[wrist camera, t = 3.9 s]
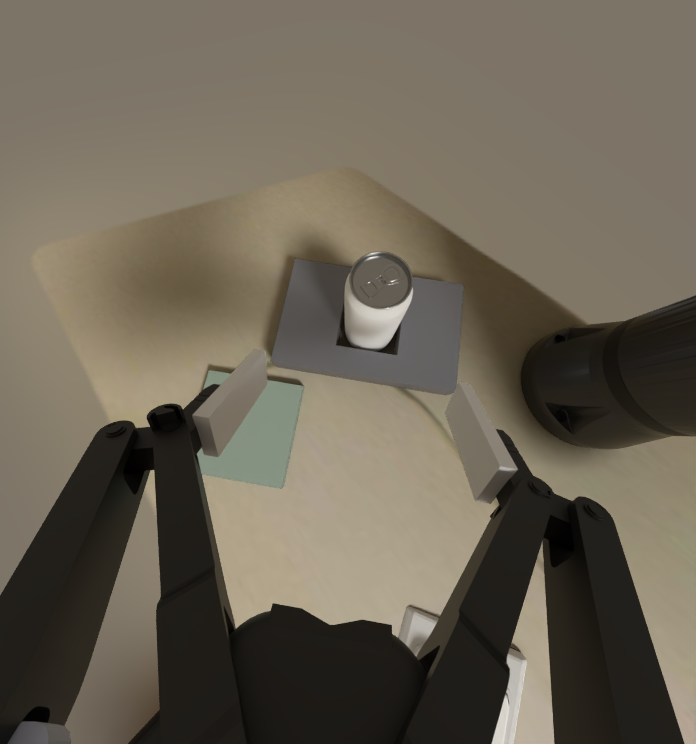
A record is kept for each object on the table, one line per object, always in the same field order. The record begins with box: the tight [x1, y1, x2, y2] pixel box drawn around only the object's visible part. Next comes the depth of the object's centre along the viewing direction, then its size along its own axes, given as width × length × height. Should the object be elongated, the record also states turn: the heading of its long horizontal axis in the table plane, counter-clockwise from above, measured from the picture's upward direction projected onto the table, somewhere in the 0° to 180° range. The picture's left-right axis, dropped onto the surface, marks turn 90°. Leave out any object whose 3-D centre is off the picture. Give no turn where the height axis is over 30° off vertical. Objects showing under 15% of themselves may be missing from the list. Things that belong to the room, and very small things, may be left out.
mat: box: [197, 370, 304, 489], centre depth 30 cm, size 12×12×1 cm
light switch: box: [399, 606, 527, 744], centre depth 24 cm, size 11×4×13 cm
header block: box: [270, 258, 464, 395], centre depth 32 cm, size 22×14×3 cm, turn 80°
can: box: [344, 252, 413, 352], centre depth 27 cm, size 6×6×12 cm
